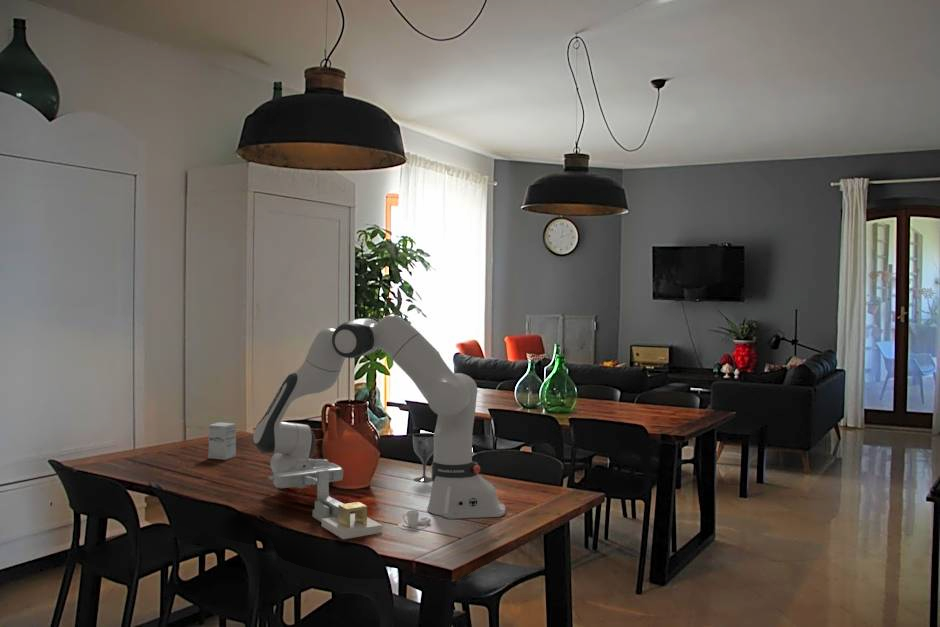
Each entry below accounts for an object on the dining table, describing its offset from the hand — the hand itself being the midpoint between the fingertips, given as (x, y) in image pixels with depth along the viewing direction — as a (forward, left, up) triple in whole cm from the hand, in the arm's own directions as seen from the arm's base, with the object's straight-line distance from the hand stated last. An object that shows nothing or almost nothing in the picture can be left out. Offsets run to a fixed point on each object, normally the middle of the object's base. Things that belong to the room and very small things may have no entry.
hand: (318, 481), depth 227 cm
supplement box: (+49, -71, -9) cm, 87 cm away
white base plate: (-12, +17, -8) cm, 22 cm away
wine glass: (-28, -40, -9) cm, 49 cm away
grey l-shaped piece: (-6, +9, -6) cm, 12 cm away
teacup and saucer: (-30, +14, -9) cm, 35 cm away
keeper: (-12, +19, -6) cm, 23 cm away
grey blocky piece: (-4, +7, -8) cm, 12 cm away
